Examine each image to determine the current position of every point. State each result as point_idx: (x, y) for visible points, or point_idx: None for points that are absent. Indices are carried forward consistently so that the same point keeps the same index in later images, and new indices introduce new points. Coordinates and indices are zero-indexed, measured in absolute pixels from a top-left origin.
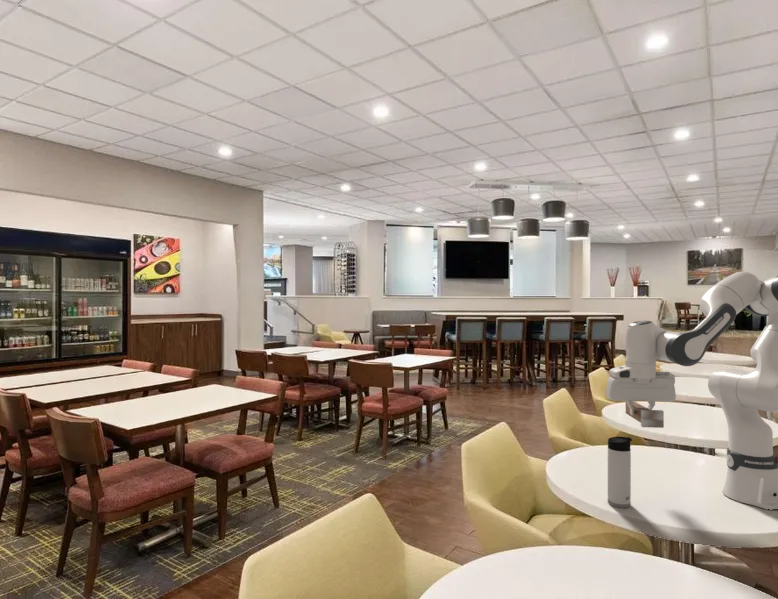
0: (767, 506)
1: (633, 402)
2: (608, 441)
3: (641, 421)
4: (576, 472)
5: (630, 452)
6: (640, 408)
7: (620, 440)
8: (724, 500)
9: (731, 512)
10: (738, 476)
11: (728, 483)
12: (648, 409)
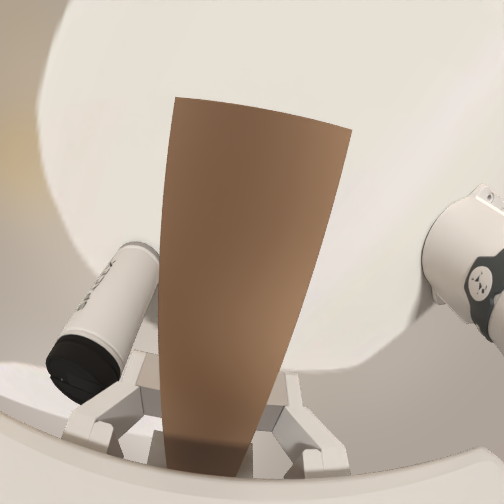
0: (437, 303)
1: (271, 211)
2: (48, 368)
3: (150, 452)
4: (112, 40)
5: (122, 370)
6: (184, 448)
7: (81, 383)
8: (405, 256)
9: (364, 309)
10: (456, 288)
11: (446, 251)
12: (232, 465)
